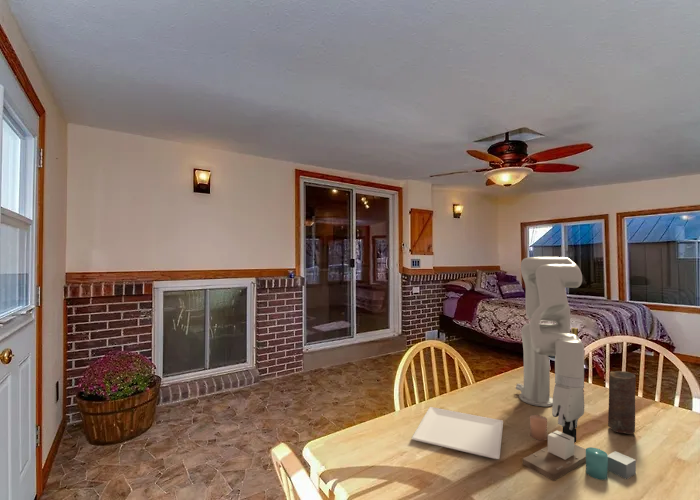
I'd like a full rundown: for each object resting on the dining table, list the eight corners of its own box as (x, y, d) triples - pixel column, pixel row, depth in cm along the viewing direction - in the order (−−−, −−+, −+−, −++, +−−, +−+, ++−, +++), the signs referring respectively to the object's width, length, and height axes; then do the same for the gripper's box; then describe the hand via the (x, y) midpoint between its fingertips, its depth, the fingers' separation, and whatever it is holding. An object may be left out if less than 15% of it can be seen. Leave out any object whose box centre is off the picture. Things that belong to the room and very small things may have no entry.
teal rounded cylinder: (582, 472, 100) (582, 450, 100) (591, 466, 103) (591, 445, 103) (602, 482, 96) (602, 459, 96) (611, 476, 98) (611, 454, 98)
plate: (503, 425, 127) (503, 420, 127) (499, 465, 104) (499, 458, 104) (429, 411, 139) (429, 406, 139) (411, 444, 115) (411, 437, 115)
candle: (640, 438, 118) (640, 377, 118) (615, 436, 119) (615, 376, 120) (627, 427, 125) (627, 370, 126) (603, 425, 127) (603, 368, 127)
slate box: (606, 470, 101) (606, 455, 101) (615, 464, 104) (615, 451, 104) (626, 479, 97) (626, 465, 97) (635, 474, 99) (635, 459, 99)
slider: (547, 451, 107) (547, 434, 107) (557, 446, 110) (556, 429, 110) (565, 459, 103) (565, 441, 103) (574, 454, 106) (574, 437, 106)
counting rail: (522, 463, 104) (522, 457, 104) (562, 443, 115) (562, 438, 115) (553, 480, 96) (553, 474, 96) (593, 457, 107) (593, 451, 107)
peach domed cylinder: (527, 435, 120) (527, 417, 120) (535, 431, 123) (535, 413, 123) (541, 441, 116) (541, 423, 116) (550, 437, 119) (550, 419, 119)
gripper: (569, 372, 116) (569, 429, 116) (543, 380, 108) (543, 442, 108) (595, 379, 110) (595, 439, 109) (569, 389, 102) (569, 454, 102)
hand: (569, 440), depth 109 cm, fingers closed
